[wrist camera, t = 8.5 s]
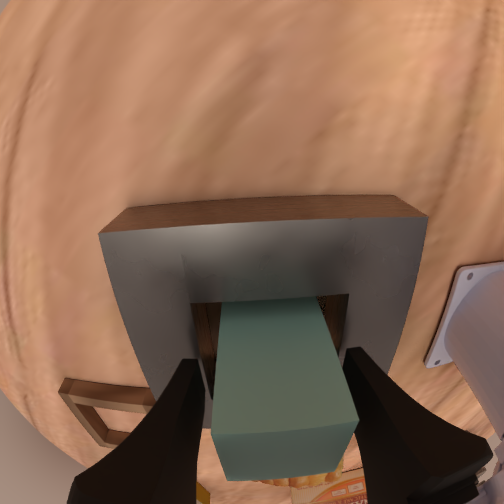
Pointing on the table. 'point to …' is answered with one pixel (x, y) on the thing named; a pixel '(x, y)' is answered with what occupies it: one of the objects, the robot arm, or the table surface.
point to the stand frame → (103, 406)
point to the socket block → (261, 271)
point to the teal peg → (279, 392)
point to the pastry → (307, 478)
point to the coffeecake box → (334, 491)
